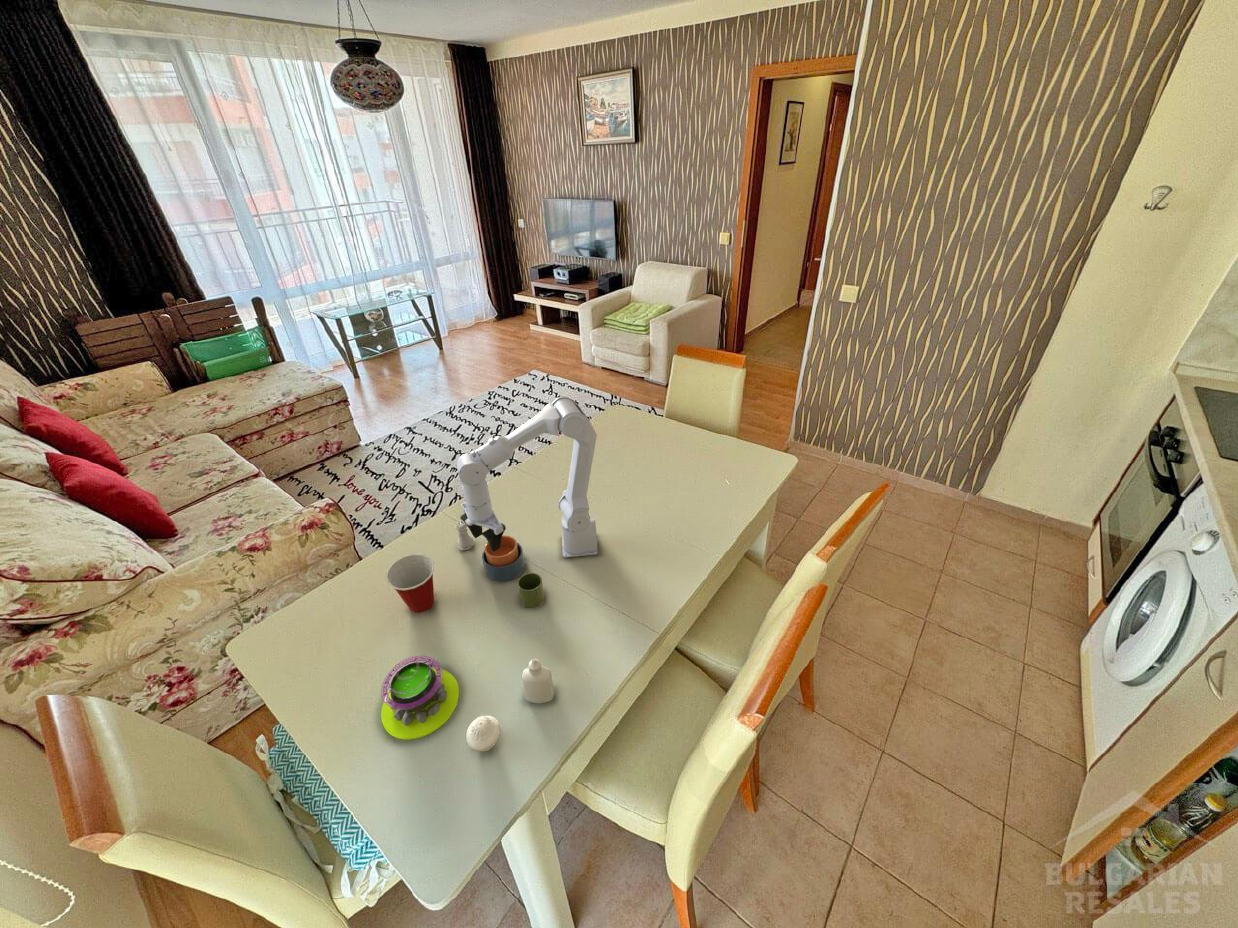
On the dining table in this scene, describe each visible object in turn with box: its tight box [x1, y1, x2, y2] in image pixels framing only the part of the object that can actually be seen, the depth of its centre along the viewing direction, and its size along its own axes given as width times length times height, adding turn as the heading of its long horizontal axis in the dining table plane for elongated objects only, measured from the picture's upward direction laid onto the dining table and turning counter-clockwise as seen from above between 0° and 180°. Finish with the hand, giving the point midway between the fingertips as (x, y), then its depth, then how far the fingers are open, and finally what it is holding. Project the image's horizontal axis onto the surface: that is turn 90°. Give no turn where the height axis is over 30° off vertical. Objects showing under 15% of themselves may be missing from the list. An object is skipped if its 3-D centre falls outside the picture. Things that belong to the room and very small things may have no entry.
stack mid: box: [484, 535, 519, 567], centre depth 128 cm, size 8×8×8 cm
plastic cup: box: [385, 552, 435, 614], centre depth 116 cm, size 11×11×12 cm
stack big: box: [481, 542, 526, 583], centre depth 129 cm, size 10×10×5 cm
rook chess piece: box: [454, 520, 475, 551], centre depth 135 cm, size 4×4×8 cm
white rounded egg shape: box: [465, 715, 501, 752], centre depth 90 cm, size 6×6×7 cm
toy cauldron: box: [380, 654, 460, 741], centre depth 96 cm, size 15×15×11 cm
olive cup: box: [517, 572, 545, 609], centre depth 119 cm, size 6×6×6 cm
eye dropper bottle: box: [521, 657, 555, 704], centre depth 96 cm, size 4×6×12 cm
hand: (487, 542), depth 124 cm, fingers open, 7 cm apart
